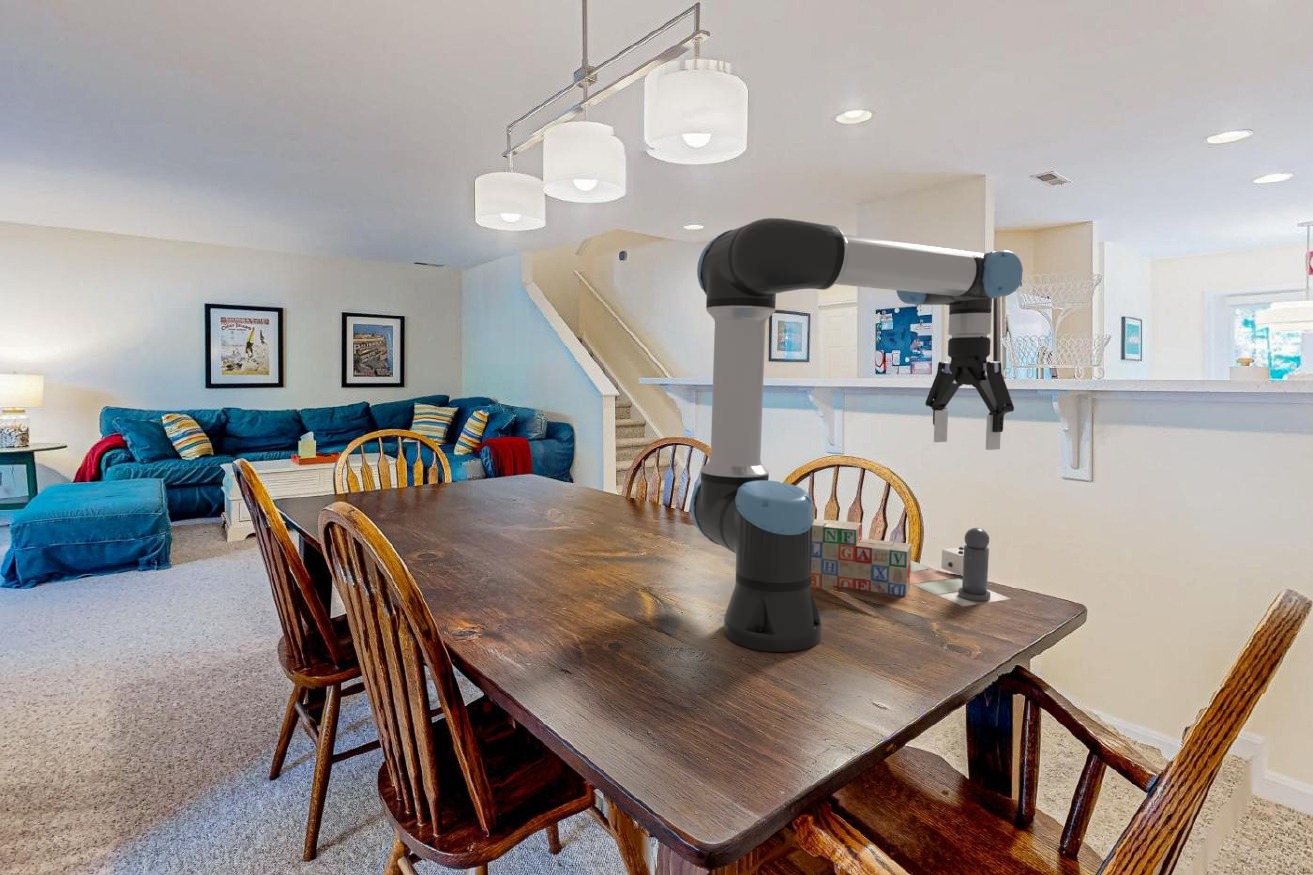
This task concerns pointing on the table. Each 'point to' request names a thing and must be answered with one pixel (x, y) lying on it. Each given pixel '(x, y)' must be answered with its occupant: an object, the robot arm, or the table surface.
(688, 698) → the table surface
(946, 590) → the board
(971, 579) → the pawn
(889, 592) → the stack of blocks
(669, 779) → the table surface
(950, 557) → the die
